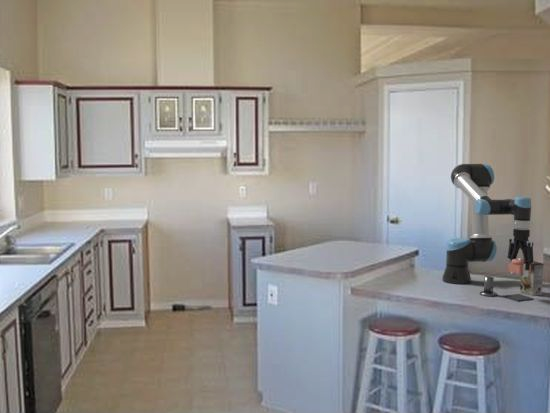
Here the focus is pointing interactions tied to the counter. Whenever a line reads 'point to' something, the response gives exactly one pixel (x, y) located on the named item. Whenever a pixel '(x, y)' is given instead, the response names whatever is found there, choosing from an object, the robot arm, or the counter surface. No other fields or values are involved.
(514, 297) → the dark grey square plate
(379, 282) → the counter surface
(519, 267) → the cap
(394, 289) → the counter surface
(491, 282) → the post
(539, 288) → the coffee box
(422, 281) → the counter surface
